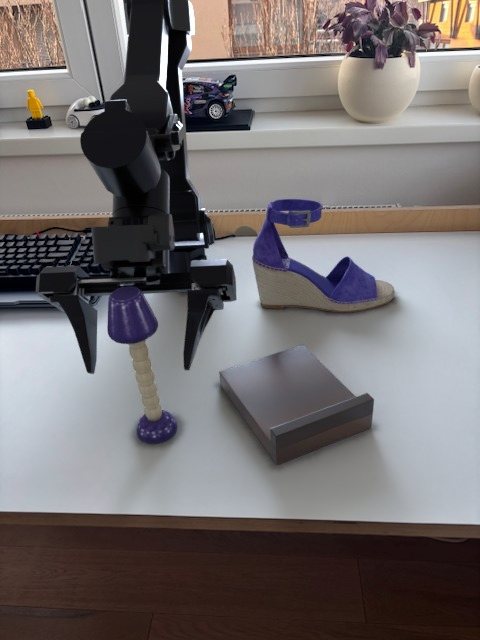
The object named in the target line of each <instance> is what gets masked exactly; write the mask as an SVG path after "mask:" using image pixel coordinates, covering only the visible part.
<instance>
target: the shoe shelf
mask: <svg viewBox="0 0 480 640" xmlns="http://www.w3.org/2000/svg"><path fill="white" fill-rule="evenodd" d="M218 374H219V384H220V387H221V388H222V389H223V391H224V392H225V393H226V395H227V396H228V398H229V399H230V400H231V403H233V405H234V406H235V408H236V409H237V411H238V412H239V413H240V415H241V416H242V418H243V419H244V421H245V423H247V425H248V426H249V428H250V429H251V430H252V432H253V433H254V435H255V436H256V438H257V439H258V441H259V442H260V443H261V445H262V446H263V448H264V449H265V451H266V452H267V453H268V455H269V456H270V458H271V459H272V461H273V462H274V464H275V465H276V466H279V465H281V464H284V463H286V462H288V461H291V460H294V459H297V458H298V457H301V456H303V455H306V454H308V453H311V452H313V451H316V450H318V449H321V448H324V447H326V446H329V445H331V444H334V443H336V442H339V441H341V440H344V439H347V438H349V437H351V436H353V435H357V434H358V433H362V432H363V431H366V430H369V429H371V428H372V426H373V415H374V405H375V404H374V403H375V398H374V397H373V396H371V394H370V393H368V392H364V393H363V394H360V395H357V396H356V395H355V394H354V393H353V392H352V391H351V390H350V389H349V388H348V387H347V386H346V385H345V384H344V383H343V382H342V381H341V380H339V378H338V377H336V375H335V374H333V372H332V371H330V370H329V369H328V367H326V366H325V364H324V363H322V362H321V361H320V360H319V359H318V358H317V357H316V356H315V355H314V354H313V353H312V352H311V351H310V350H309V349H308V348H307V347H306V346H305V345H304V344H300V345H297V346H294V347H290V348H288V349H285V350H282V351H279V352H275V353H273V354H269V355H266V356H263V357H259V358H257V359H254V360H250V361H247V362H245V363H241V364H239V365H235V366H232V367H229V368H225V369H223V370H220V371H218Z"/></svg>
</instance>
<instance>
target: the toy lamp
mask: <svg viewBox="0 0 480 640" xmlns="http://www.w3.org/2000/svg"><path fill="white" fill-rule="evenodd" d="M126 286H127V285H126ZM158 327H159V321H158V319H157V316H156V314H155V313H154V311H153V309H152V307H151V305H150V303H149V302H148V300H147V298H146V296H145V294H143V293H142V291H141V290H140V289H139V288H137V287H133V286H127V287H121V288H118V289H116V290H115V291H113V292H112V293H111V294H110V295H108V301H107V335H108V337H109V338H110V340H112V341H114V342H115V343H117V344H121V345H128V346H129V347H128V348H129V350H128V352H129V355H130V357H131V359H132V367H133V370H134V371H135V380H136V382H137V384H138V392H139V394H140V395H141V404H142V405H143V407H144V414H143V415H142V416H140V418H139V420H138V422H137V425H136V435H137V437H138V439H139V440H140V441H141V442H144V443H146V444H153V445H154V444H161V443H163V442H166V441H168V440H170V439H172V437H173V436H174V435H175V434H176V432H177V430H178V422H177V420H176V418H175V417H174V416H173V414H172V413H170V412H169V411H167V410H165V409H163V408H162V406H161V404H160V395H159V394H158V386H157V383H156V381H155V372H154V371H153V369H152V361H151V358H150V356H149V353H150V352H149V346H148V345H147V343H146V341H147V340H148V339H149V338H151V337H152V336H153V335H155V334H156V332H157V330H158Z"/></svg>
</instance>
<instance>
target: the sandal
mask: <svg viewBox="0 0 480 640" xmlns="http://www.w3.org/2000/svg"><path fill="white" fill-rule="evenodd" d="M322 209H323V205H322V204H321V203H320V202H319V201H316V200H312V199H302V198H280V199H275V200H273V201H269V203H268V205H267V207H266V212H265V218H264V221H263V224H262V226H261V228H260V231H259V233H258V234H257V236H256V238H255V239H254V242H253V246H252V256H251V260H252V267H253V272H254V276H255V281H256V286H257V287H256V288H257V292H258V297H259V301H260V306H261V307H262V308H265V309H282V310H283V309H284V308H285V307H288V308H289V307H291V308H292V307H293V308H304V309H314V310H320V311H325V312H331V313H332V312H334V313H357V312H363V311H368V310H372V309H376V308H379V307H382V306H384V305H386V304H389V303H390V302H391V301H392V300H393V299H394V296H395V287H394V285H393V284H392V283H390V282H388V281H384V280H379V279H376V277H375V276H374V275H372V274H370V273H368V272H367V271H366V270H364V269H363V268H362V267H360V266H359V265H358V264H357V263H355V262H354V261H353V259H352V257H350V256H349V255H348V256H344V257H343V258H341V259H340V260H339V261H338V262H337V264H335V266H334V267H333V268H332V269H331V271H330V272H329V273H328V274H327V275H326V276H324V275H322V274H320V273H319V272H317V271H315V270H314V269H312V268H311V267H309V266H307V265H306V264H304V263H302V262H300V261H299V260H296V259H293V258H291V257H289V254H288V252H287V250H286V248H285V246H284V243H283V242H282V239H281V236H280V234H279V232H278V229H277V227H276V225H275V224H278V225H283V226H288V227H289V229H302V228H303V229H305V228H309V227H310V225H311V224H312V223H316V222H318V221H320V220H321V218H322V211H323V210H322Z"/></svg>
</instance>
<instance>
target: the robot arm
mask: <svg viewBox="0 0 480 640" xmlns="http://www.w3.org/2000/svg"><path fill="white" fill-rule="evenodd" d="M123 11H124V20H125V27H126V36H127V44H126V54H125V55H126V57H125V68H124V78H123V84H122V85H121V86H120V87H118V88H117V90H115V91H114V92H113V93H112V94H111V95H110V97H109V100H105V101H104V105H103V106H104V108H103V109H104V110H103V111H102V112H100V113H98V114H97V115H95V116H93V118H91V120H89V121H88V123H87V124H86V125H85V127H84V128H83V131H82V132H81V134H80V138H79V139H80V140H79V142H80V148H81V151H82V153H83V155H84V157H85V158H86V160H87V161H88V163H89V164H90V166H91V168H92V169H93V171H94V173H95V174H96V175H97V178H98V179H99V180H100V182H101V184H102V186H103V187H104V188H105V189H106V191H107V192H109V193H111V194H112V213H111V215H112V216H111V217H110V216H109V217H108V222H107V225H105V226H92V227H91V238H92V240H91V241H92V254H93V263H94V265H98V264H100V266H101V268H102V270H103V271H105V272H109V273H110V275H100V276H99V275H97V276H96V275H95V276H91V275H89V274H88V273H87V272H85V270H83V268H82V267H81V266H80V265H68V266H46V267H45V266H44V267H43V268H42V270H41V271H40V272H39V274H38V275H37V276H36V279H35V281H36V282H35V295H36V296H38V297H39V298H41V299H43V300H44V301H46V302H47V303H49V304H50V305H52V306H54V308H57V309H58V310H59V311H61V312H62V313H64V314H65V315H66V316H67V318H68V320H69V323H70V325H71V327H72V329H73V332H74V335H75V339H76V341H77V344H78V348H79V351H80V355H81V357H82V360H83V361H82V362H83V363H84V367H85V370H86V373H87V374H90V375H94V374H95V372H96V366H97V360H98V359H97V358H98V356H97V355H98V351H97V350H98V310H97V309H96V308H94V307H93V306H92V304H93V303H94V302H95V301H96V297H100V296H101V297H102V296H110V294H111V293H112V292H113V291H115V290H116V289H118V288H121V287H127V286H133V287H137V288H139V289H140V290H141V291H142V293H143V294H144V295H147V294H149V295H151V294H170V293H171V294H172V293H186V297H187V298H186V299H187V300H186V301H187V307H186V308H187V313H186V314H187V315H186V324H185V331H184V333H185V334H184V343H183V353H182V357H183V370H184V371H185V372H187V371H190V370H191V367H192V364H193V361H194V358H195V357H196V354H197V350H198V348H199V345H200V342H201V339H202V337H203V335H204V332H205V330H206V328H207V326H208V324H209V322H210V321H211V319H212V316H213V315H214V312H215V311H222V310H223V309H224V308H225V304H224V303H231V302H235V301H237V279H236V274H235V268H234V265H233V264H232V263H231V262H230V261H229V260H228V259H227V258H220V259H208V257H207V255H206V250H207V249H210V246H211V245H214V244H215V234H214V233H215V232H214V227H213V221H212V218H211V217H210V216H209V214H208V212H207V209H206V208H203V203H202V201H203V200H202V197H201V194H200V193H199V191H198V190H197V189H196V187H195V185H194V184H193V183H192V181H191V180H190V170H189V169H190V168H189V155H188V142H187V127H186V113H185V112H186V111H185V100H184V98H185V97H184V85H183V70H184V68H185V66H186V64H187V61H188V59H189V58H190V55H191V53H192V36H195V33H196V30H195V27H196V26H195V15H194V9H193V5H192V3H191V2H190V0H126V2H125V3H123Z"/></svg>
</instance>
